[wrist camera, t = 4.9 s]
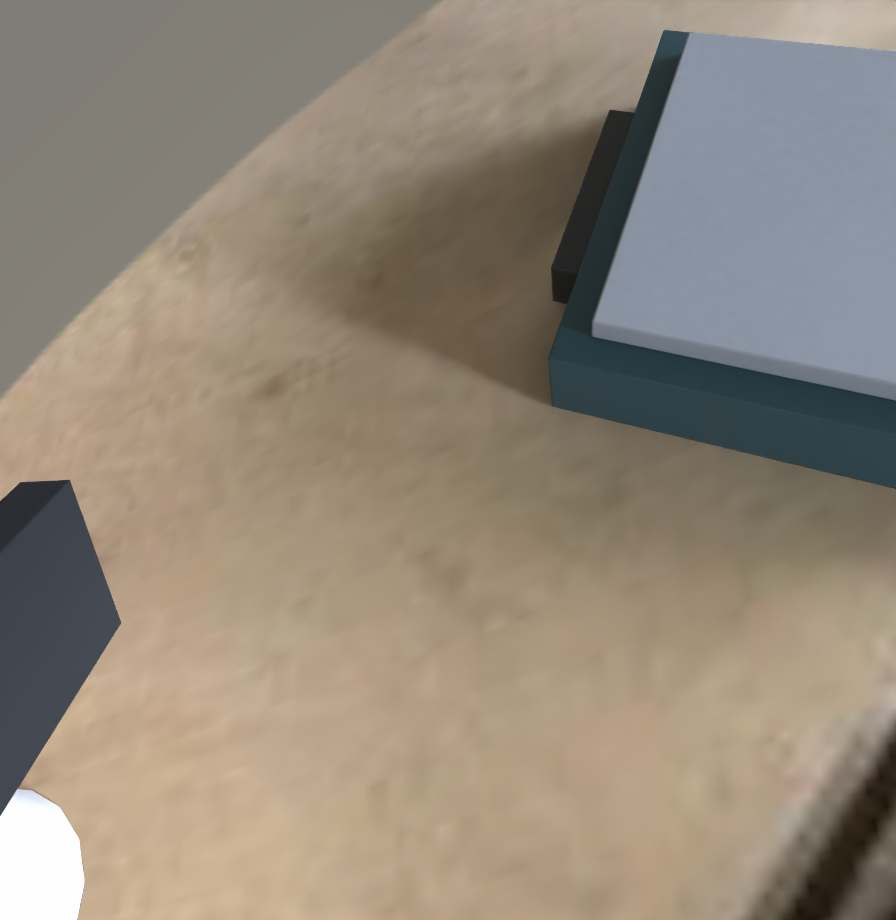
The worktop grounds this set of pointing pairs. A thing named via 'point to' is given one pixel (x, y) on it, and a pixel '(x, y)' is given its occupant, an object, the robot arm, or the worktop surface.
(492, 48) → the worktop surface
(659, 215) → the scale
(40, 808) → the white coffee cup
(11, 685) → the robot arm
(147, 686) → the worktop surface
